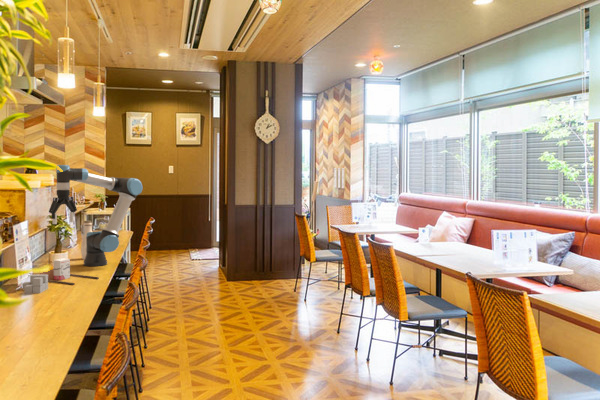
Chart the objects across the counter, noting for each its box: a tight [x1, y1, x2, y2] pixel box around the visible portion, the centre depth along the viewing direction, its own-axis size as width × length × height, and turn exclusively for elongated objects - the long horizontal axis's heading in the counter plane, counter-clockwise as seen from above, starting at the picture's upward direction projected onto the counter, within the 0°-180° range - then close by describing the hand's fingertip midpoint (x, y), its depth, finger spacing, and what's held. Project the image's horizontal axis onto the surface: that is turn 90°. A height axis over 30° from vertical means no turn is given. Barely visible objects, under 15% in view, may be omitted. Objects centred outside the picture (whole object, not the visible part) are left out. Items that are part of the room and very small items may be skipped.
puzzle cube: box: [21, 273, 49, 294], centre depth 285 cm, size 12×12×8 cm
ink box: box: [53, 257, 71, 281], centre depth 317 cm, size 9×5×12 cm, turn 162°
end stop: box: [39, 267, 54, 280], centre depth 319 cm, size 20×2×6 cm, turn 158°
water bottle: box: [80, 220, 94, 261], centre depth 388 cm, size 10×9×28 cm
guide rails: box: [48, 273, 100, 286], centre depth 315 cm, size 20×25×1 cm
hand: (63, 223), depth 333 cm, fingers open, 13 cm apart
